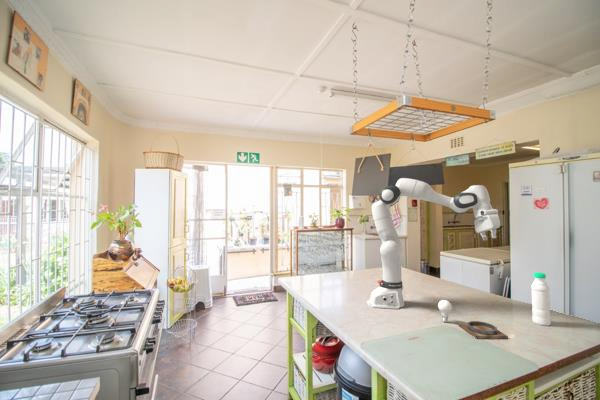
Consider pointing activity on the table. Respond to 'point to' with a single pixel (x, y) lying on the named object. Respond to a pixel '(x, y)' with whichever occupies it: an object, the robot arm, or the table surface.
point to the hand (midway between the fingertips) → (489, 239)
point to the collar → (482, 330)
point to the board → (482, 336)
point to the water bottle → (540, 300)
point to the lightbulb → (445, 309)
